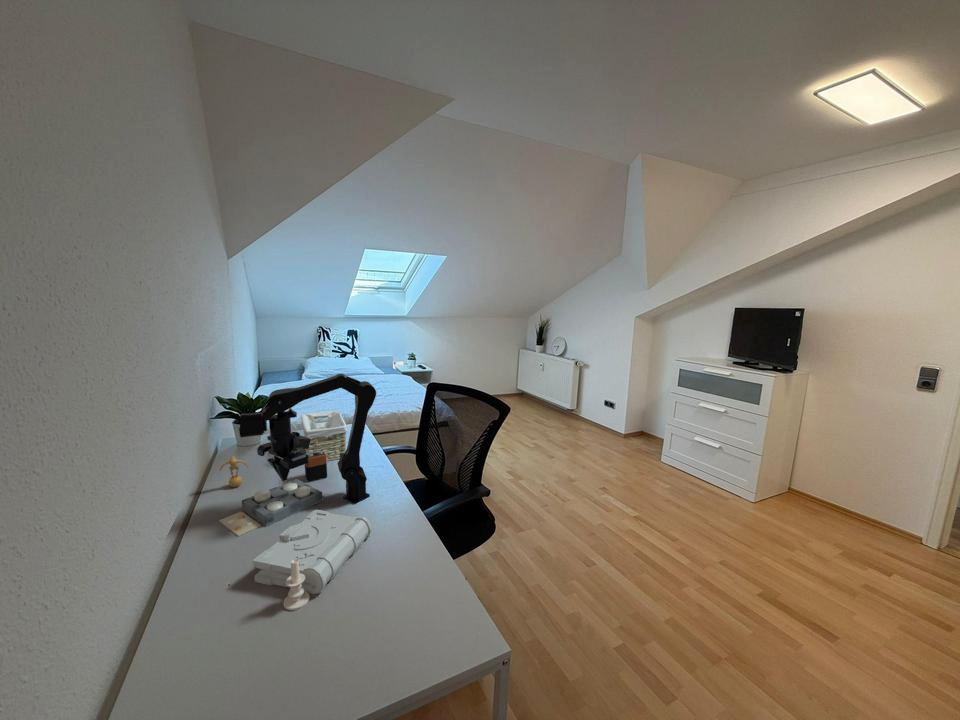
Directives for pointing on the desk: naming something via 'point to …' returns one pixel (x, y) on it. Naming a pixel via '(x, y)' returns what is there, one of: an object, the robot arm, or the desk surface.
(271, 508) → the button
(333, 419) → the storage basket
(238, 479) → the figurine
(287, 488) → the button
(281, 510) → the button board
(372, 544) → the desk surface
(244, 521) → the pattern card
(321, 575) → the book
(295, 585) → the candle
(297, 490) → the button
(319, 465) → the battery
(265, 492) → the button
